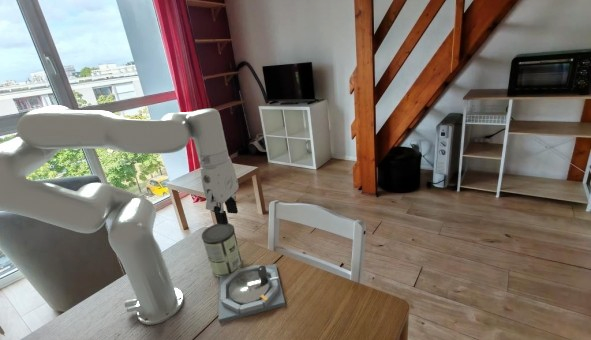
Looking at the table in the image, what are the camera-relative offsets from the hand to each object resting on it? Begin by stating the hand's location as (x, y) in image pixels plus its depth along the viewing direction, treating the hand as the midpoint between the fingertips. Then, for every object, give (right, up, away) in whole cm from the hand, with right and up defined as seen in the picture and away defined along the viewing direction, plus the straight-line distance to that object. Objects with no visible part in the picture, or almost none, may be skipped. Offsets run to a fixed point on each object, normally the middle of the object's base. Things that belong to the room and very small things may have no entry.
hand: (227, 217), depth 83 cm
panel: (+6, -23, +5) cm, 24 cm away
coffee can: (-4, -19, +17) cm, 26 cm away
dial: (+6, -22, +4) cm, 23 cm away
